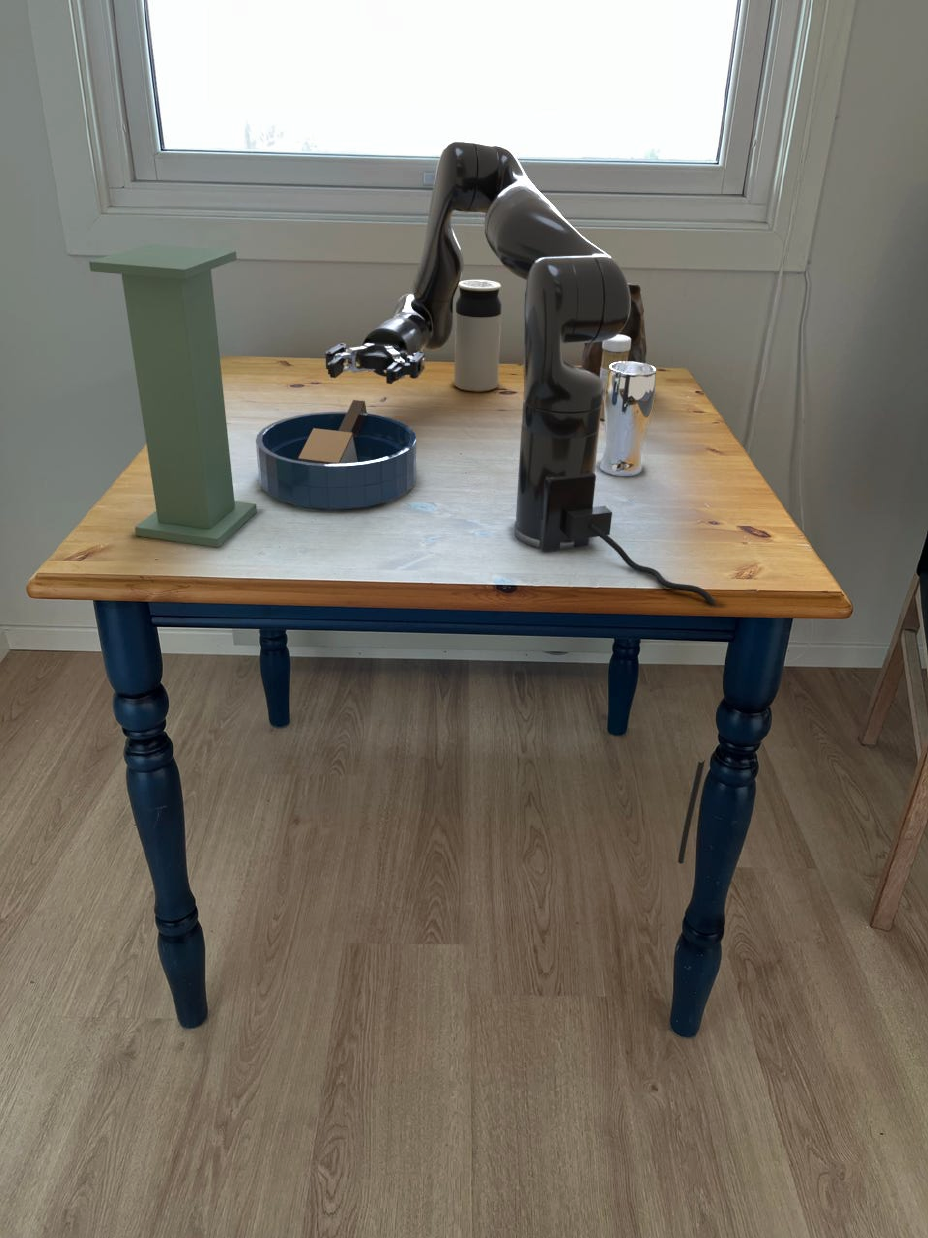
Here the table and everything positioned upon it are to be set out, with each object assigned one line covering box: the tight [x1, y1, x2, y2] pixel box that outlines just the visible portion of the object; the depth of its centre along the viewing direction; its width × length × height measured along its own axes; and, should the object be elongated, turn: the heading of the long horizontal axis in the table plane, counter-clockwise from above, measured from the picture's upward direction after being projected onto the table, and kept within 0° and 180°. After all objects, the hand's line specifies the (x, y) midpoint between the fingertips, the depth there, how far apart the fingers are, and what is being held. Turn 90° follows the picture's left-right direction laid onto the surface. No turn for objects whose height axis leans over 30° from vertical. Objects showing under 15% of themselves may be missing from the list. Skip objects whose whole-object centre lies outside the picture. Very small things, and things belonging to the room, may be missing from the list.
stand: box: [88, 243, 258, 548], centre depth 111 cm, size 12×11×32 cm
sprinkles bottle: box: [600, 334, 631, 421], centre depth 157 cm, size 5×5×14 cm
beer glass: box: [599, 362, 657, 477], centre depth 136 cm, size 7×7×15 cm
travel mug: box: [453, 279, 503, 393], centre depth 169 cm, size 8×8×18 cm
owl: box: [580, 282, 648, 377], centre depth 167 cm, size 13×13×20 cm
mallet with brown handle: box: [298, 399, 368, 464], centre depth 131 cm, size 16×6×5 cm, turn 166°
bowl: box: [255, 411, 417, 511], centre depth 131 cm, size 22×22×6 cm
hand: (360, 373), depth 136 cm, fingers open, 8 cm apart
